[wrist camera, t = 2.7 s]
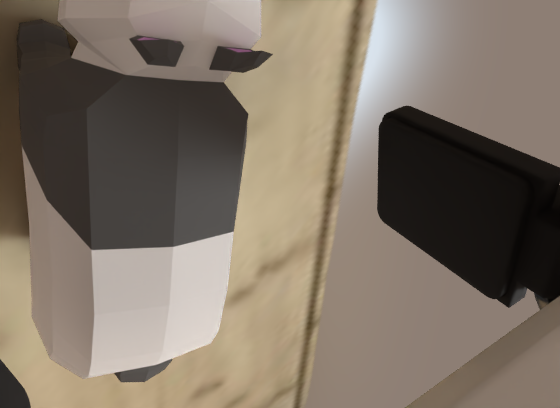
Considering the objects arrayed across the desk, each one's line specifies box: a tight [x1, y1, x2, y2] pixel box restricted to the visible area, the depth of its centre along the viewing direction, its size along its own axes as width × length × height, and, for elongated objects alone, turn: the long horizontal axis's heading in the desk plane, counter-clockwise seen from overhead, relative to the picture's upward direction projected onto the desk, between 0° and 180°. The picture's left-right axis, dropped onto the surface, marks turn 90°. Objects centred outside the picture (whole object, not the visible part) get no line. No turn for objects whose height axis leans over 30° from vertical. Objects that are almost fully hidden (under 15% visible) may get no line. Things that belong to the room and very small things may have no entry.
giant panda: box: [17, 0, 273, 382], centre depth 13 cm, size 15×6×10 cm, turn 167°
